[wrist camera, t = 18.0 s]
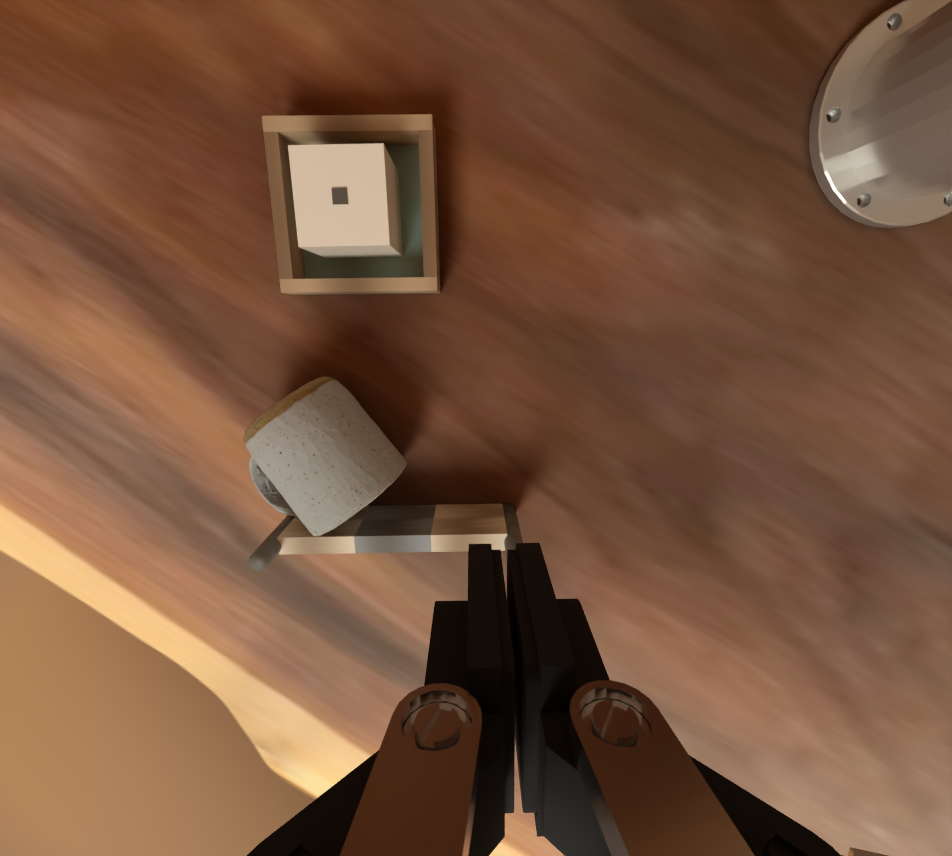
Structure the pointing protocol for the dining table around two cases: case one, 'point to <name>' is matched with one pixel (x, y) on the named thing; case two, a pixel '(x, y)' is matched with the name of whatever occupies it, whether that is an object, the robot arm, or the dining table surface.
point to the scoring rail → (398, 531)
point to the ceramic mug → (320, 455)
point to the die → (346, 200)
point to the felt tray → (417, 173)
